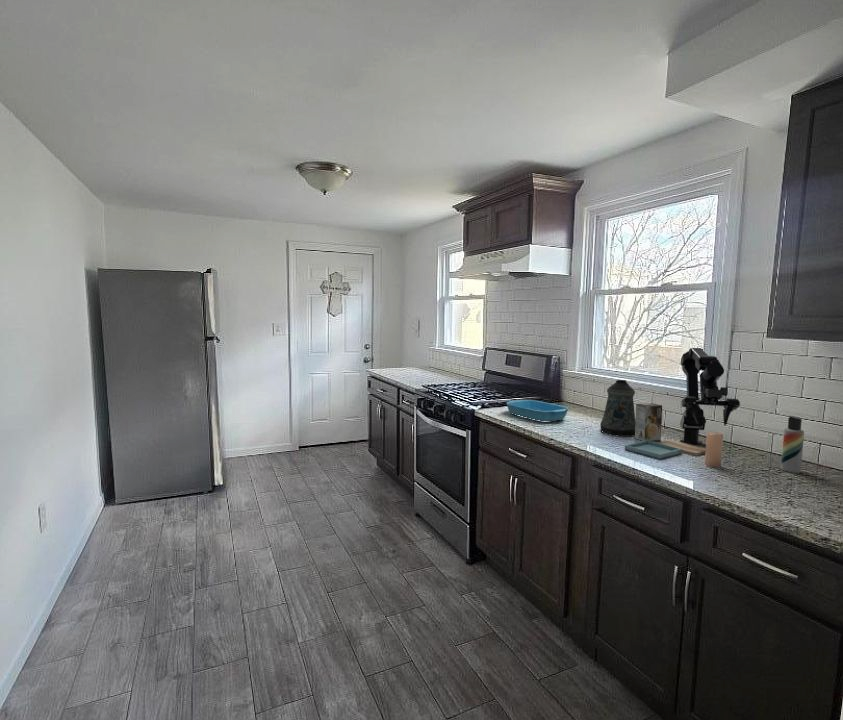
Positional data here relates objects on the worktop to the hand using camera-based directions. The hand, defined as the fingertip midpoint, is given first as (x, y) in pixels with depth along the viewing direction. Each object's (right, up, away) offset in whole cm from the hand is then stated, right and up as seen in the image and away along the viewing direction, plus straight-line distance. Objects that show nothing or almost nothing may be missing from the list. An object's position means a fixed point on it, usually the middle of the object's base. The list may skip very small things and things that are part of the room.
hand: (711, 424), depth 179 cm
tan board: (-1, -13, +18) cm, 22 cm away
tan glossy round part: (-2, -15, -3) cm, 15 cm away
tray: (-16, -13, +14) cm, 25 cm away
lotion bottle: (+23, -16, -9) cm, 29 cm away
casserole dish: (-48, -7, +80) cm, 93 cm away
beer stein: (-16, -10, +48) cm, 51 cm away
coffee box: (-8, -12, +34) cm, 37 cm away
